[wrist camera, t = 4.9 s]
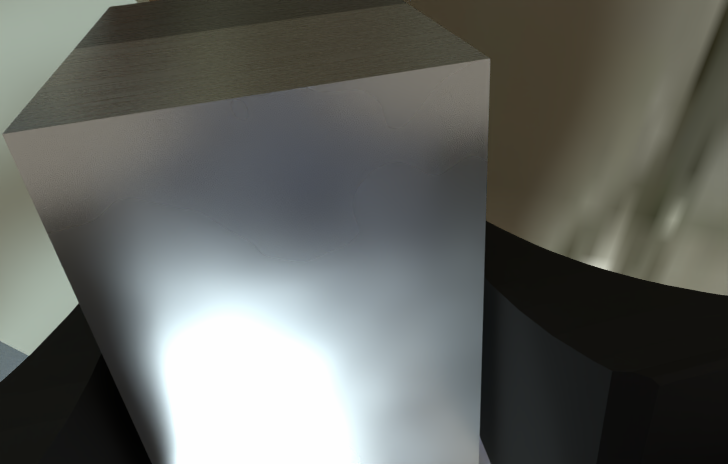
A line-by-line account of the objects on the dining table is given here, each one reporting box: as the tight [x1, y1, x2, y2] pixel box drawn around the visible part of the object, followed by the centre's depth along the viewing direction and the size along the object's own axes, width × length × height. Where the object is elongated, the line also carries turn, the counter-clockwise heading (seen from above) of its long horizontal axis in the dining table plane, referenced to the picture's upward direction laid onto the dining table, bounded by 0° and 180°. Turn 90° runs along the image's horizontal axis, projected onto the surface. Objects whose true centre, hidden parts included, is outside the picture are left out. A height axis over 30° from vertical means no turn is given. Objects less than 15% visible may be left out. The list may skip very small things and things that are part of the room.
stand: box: [0, 0, 157, 356], centre depth 17 cm, size 14×13×2 cm
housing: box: [2, 0, 490, 464], centre depth 10 cm, size 4×9×6 cm, turn 3°
